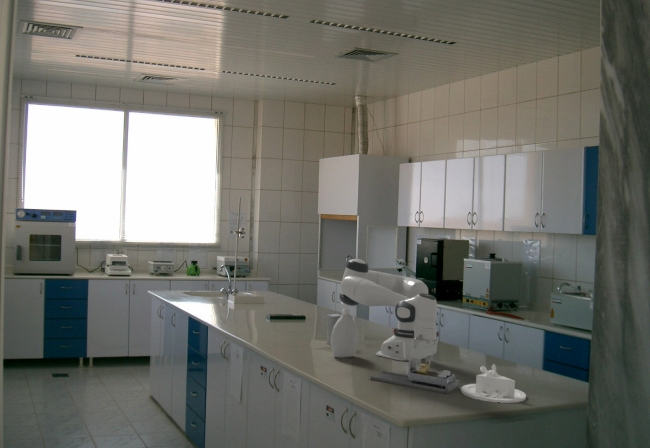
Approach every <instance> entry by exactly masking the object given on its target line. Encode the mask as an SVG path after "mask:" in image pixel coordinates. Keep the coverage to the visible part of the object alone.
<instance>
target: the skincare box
mask: <svg viewBox="0 0 650 448" xmlns="http://www.w3.org/2000/svg"><path fill="white" fill-rule="evenodd" d="M341 316H342V314H339V313H334V314H326V344H327V345H330V346H331V336H332V331H333V327H334V325H335V324H336V322H337V320H338V319H339V318H340V317H341Z"/></svg>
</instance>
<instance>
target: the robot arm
mask: <svg viewBox="0 0 650 448" xmlns="http://www.w3.org/2000/svg"><path fill="white" fill-rule="evenodd" d="M343 272H344V273H343V275H342V281H341V284H340V292H339V300H340V302H343V303H344V304H346V305H347V306H350V307H355V306H358V305H359V304H361V305H363V306H368V307H380V306H381V307H382V306H383V307H385V306H386V307H394V315H395V317H396V319H397V327H396V328H393V330H392V332H393V335H392V336H390V337H389V338H387V339H386V340H384V341H383V343H381V349H380V350H378V351H377V352H376V353H375V355H376V356H378V357H382V358H388V359H391V360H396V361H403V362H404V361H410V360H415V363H416V369H417V370H421V369H422V365H421V364H422V363H421V362H422V360H424V359H425V361H424V364H428V365H430V366H431V361H432V358H433V355H434V354H436V353H437V351H438V347H439V345H438V344H439V337H440V331H439V330H437V325H436V322H437V321H436V320H437V317H438V313H437V312H438V304H437V299H436V297H435V296H433V295H432V294H429V287H428V286H427V284H425V282H424V281H423V280H420V279H417V278H413V277H410V276H405V275H404V276H403V275H398V274H394V273H393V274H392V273H389V272H388V273H387V272H382V271H378V270H371V269H369V265H368V263H367V262H366V261H364V260H362V259H360V258H351V259H349V260H348V261H347V263H346V265H345V269H344V271H343Z"/></svg>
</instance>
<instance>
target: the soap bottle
mask: <svg viewBox="0 0 650 448" xmlns="http://www.w3.org/2000/svg"><path fill="white" fill-rule="evenodd" d="M340 304H341V305H342V306H344V308H342V310H341V315H342V316H341V317H340V318H339V319H338V320H337V322H336V324H335V325H334V327H333V331H332V336H331V345H330V348H331V349H330V350H331V352H332V354H333V356H334V357H335V358H337V359H338V358H341V359H342V358H344V359H345V358H352V357H354V356H355V354H356V352H357V348H358V344H359V332H358V327H357V324H356V322H355V321H354V320H353V318H352V317H351V315H350V314H351V310H350V308H348V305H346V304H344V303H343V302H341V301H340Z"/></svg>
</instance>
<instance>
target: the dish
mask: <svg viewBox="0 0 650 448" xmlns="http://www.w3.org/2000/svg"><path fill="white" fill-rule="evenodd" d="M479 369H480V372H481V374H476V375H475V383H468V384H464V385H463V386H462V387H460V391H461V394H463V395H464V396H466V397H469V398H471V399H474V400H478V399H479V400H478V401H484V402H491V403H497V402H500V404H501V403H502V404H512V403H513V404H514V403H520V402H524V401H526V399H527V395H526V393H525V392H523V391H521V390H520V389H516V388H515V387H516V380H515V379H514V380H513V379H511V378H509V377H507V376H503V375H501V374H499V373H498V372H497V366H496V364H495V363H493V364H492V365H491V369H489V370H488V369H487V368H486V366H485V365H481V366H480V368H479Z"/></svg>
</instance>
